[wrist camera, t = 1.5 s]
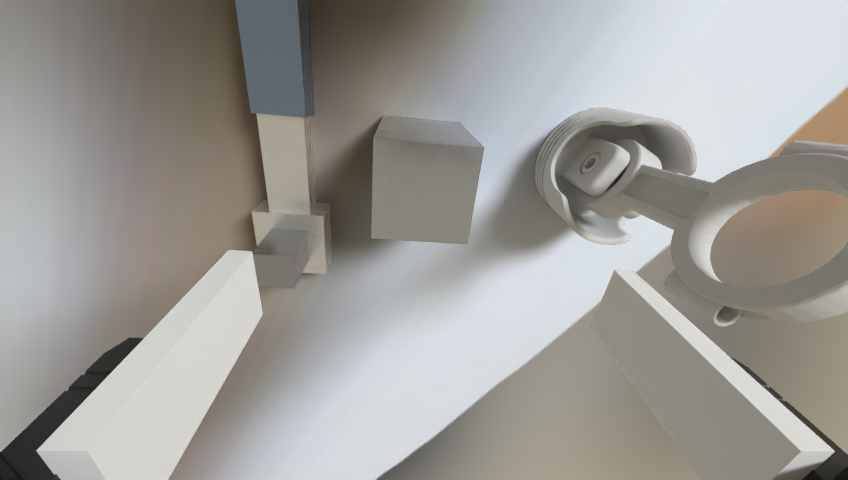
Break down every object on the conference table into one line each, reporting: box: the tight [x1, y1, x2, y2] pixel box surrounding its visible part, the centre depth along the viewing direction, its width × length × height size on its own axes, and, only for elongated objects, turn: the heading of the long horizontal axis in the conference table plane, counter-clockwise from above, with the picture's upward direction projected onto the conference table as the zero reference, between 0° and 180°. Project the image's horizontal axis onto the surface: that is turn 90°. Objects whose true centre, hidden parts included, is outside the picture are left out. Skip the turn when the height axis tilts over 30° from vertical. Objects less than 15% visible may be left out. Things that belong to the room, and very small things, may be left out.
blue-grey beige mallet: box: [235, 0, 332, 288], centre depth 25 cm, size 24×6×8 cm, turn 175°
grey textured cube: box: [371, 116, 484, 244], centre depth 25 cm, size 7×7×10 cm
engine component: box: [535, 108, 848, 326], centre depth 22 cm, size 11×20×10 cm
